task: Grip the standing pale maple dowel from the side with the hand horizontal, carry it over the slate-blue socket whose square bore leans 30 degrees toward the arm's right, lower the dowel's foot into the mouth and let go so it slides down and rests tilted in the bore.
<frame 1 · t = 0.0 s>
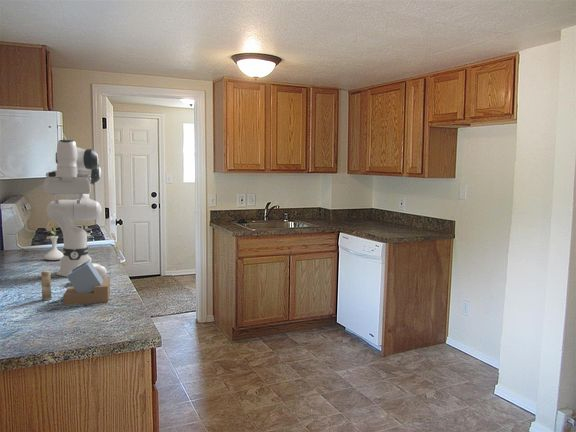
hand: (67, 203, 219), 39 cm above the worktop, tool pointing down, fingers open, 8 cm apart
lightbulb: (99, 289, 218), on the worktop
peg: (46, 299, 200), on the worktop
flower in vase: (54, 260, 279), on the worktop
teapot: (89, 282, 231), on the worktop
socket: (79, 299, 201), on the worktop
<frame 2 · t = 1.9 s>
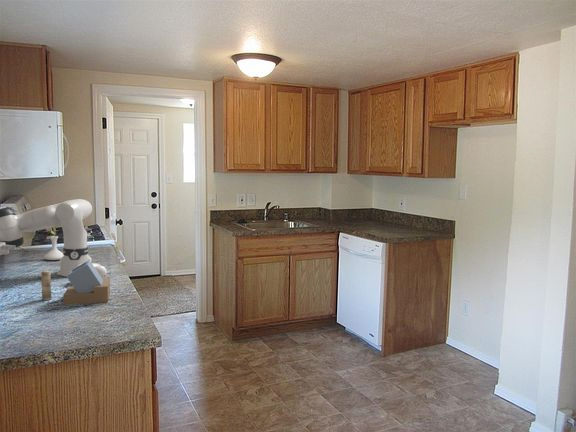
hand: (12, 249, 194), 22 cm above the worktop, tool horizontal, fingers open, 8 cm apart
nothing on the worktop moved.
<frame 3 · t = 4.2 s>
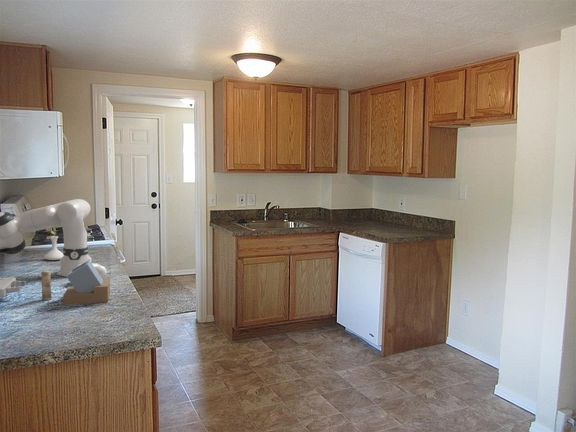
hand: (22, 286, 196), 6 cm above the worktop, tool horizontal, fingers open, 8 cm apart
nothing on the worktop moved.
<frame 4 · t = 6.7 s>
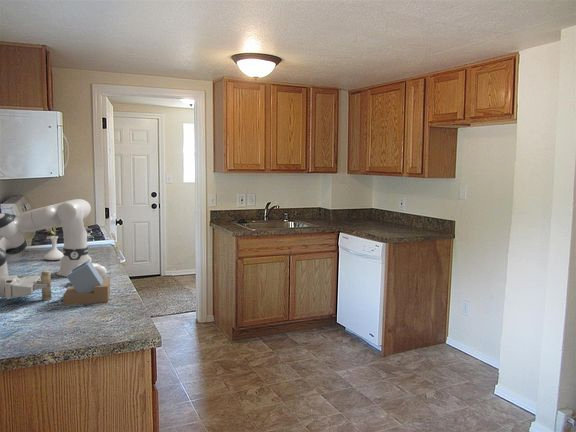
hand: (48, 284, 200), 7 cm above the worktop, tool horizontal, fingers closed on peg, 3 cm apart
peg: (46, 299, 200), on the worktop, touching gripper
everything else where it was.
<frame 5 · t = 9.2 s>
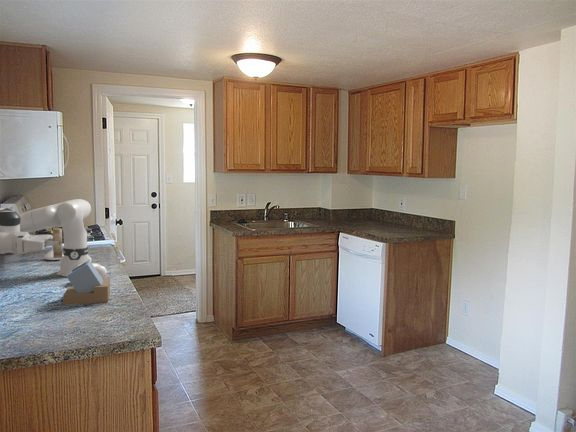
hand: (60, 241, 197), 25 cm above the worktop, tool horizontal, fingers closed on peg, 3 cm apart
peg: (58, 257, 198), point 18 cm above the worktop, touching gripper
everything else where it was.
when the fingers open (17 cm above the worktop, at t = 11.9 s): peg drops 4 cm and tips over, resting on socket.
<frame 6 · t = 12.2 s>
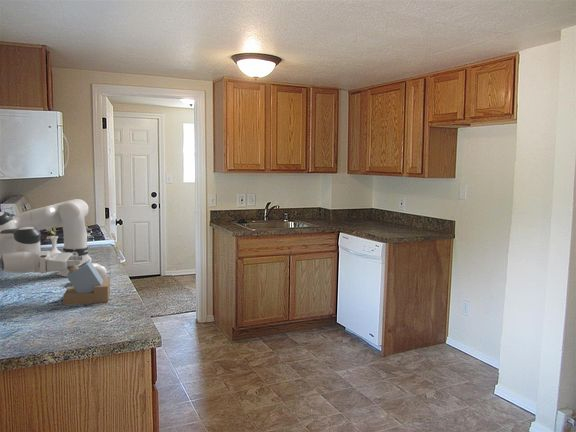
hand: (81, 260, 200), 17 cm above the worktop, tool horizontal, fingers open, 6 cm apart
peg: (88, 285, 202), point 6 cm above the worktop, tilted 38°, touching socket
everything else where it was.
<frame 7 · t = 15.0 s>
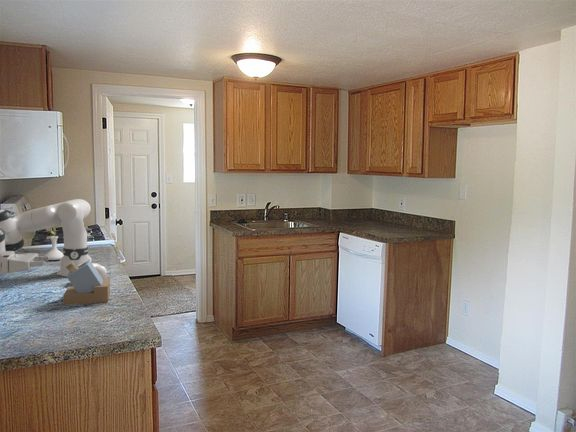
hand: (46, 260, 196), 17 cm above the worktop, tool horizontal, fingers open, 8 cm apart
nothing on the worktop moved.
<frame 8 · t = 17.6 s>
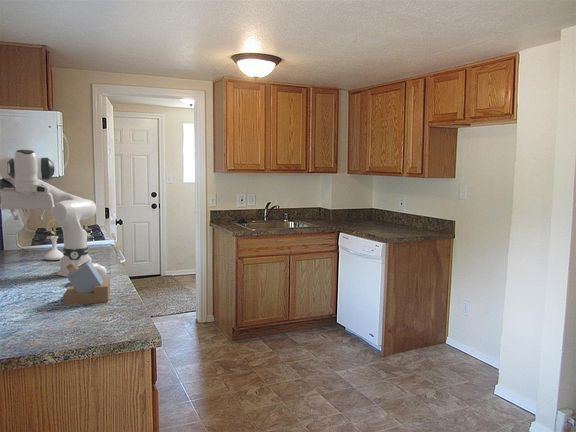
hand: (28, 219, 204), 33 cm above the worktop, tool pointing down, fingers open, 8 cm apart
nothing on the worktop moved.
at the end: peg inside the target area on the socket (0.9 cm from its centre), point 6.0 cm above the socket's base; peg tilted 38°; the gripper is holding nothing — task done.
